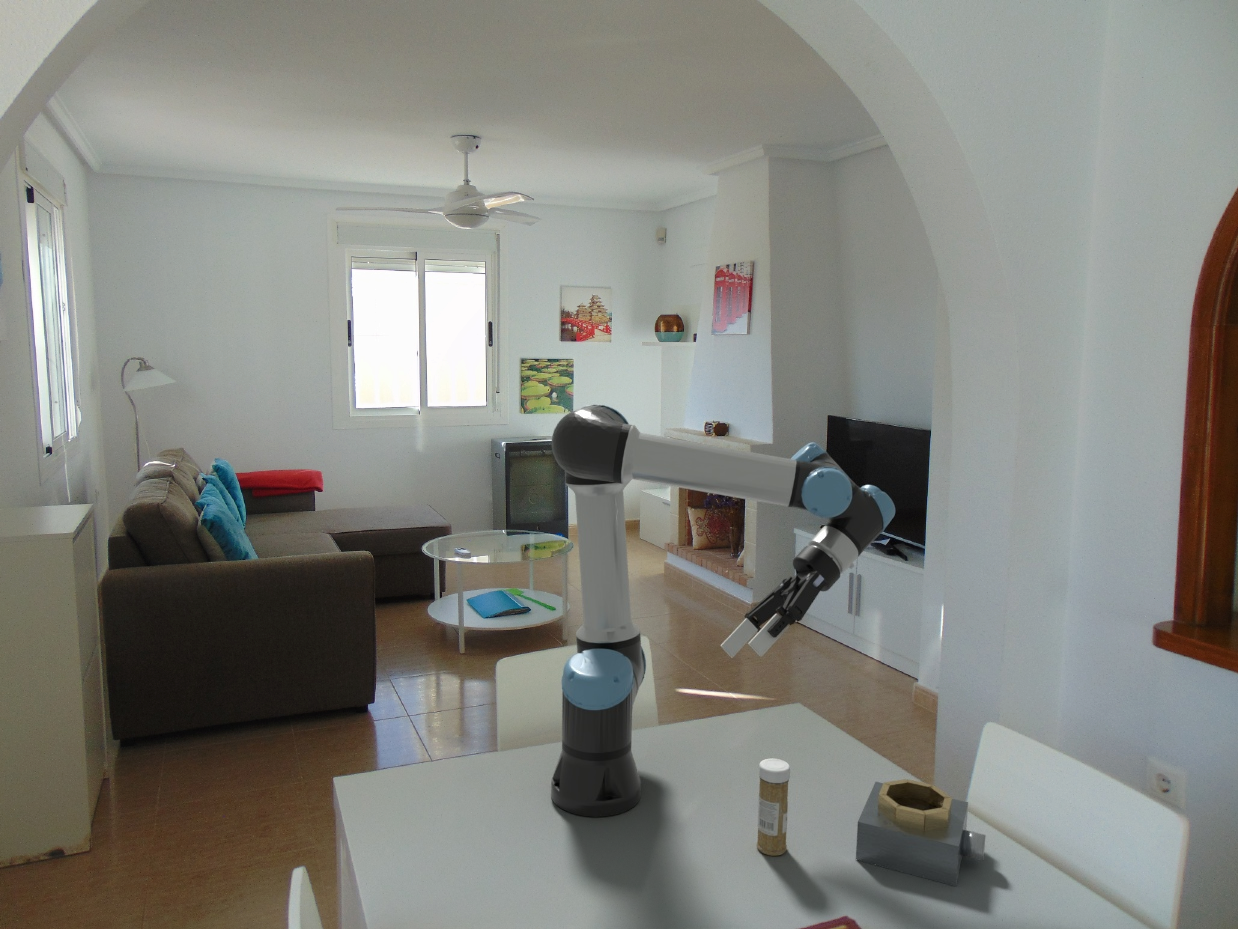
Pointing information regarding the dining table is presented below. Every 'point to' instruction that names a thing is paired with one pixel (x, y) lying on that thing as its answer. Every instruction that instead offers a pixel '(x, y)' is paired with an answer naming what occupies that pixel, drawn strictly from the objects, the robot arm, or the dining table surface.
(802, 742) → the dining table surface
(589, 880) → the dining table surface
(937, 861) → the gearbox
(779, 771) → the sprinkles bottle
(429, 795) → the dining table surface
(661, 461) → the robot arm
